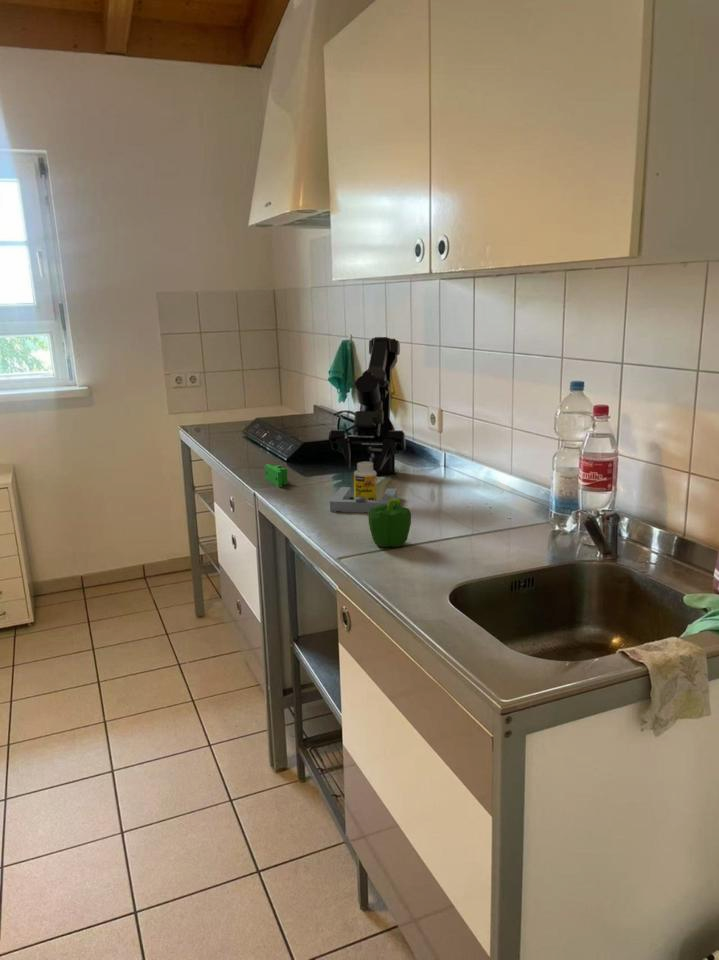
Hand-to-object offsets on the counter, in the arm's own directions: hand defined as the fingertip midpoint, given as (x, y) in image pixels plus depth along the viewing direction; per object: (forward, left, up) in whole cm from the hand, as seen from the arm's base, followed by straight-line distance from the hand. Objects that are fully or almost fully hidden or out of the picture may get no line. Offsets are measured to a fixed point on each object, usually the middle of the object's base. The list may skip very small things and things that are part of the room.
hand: (363, 469), depth 176 cm
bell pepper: (+4, +31, -9) cm, 32 cm away
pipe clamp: (+16, -31, -9) cm, 36 cm away
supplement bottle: (-1, -1, -9) cm, 9 cm away
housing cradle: (0, 0, -9) cm, 9 cm away
